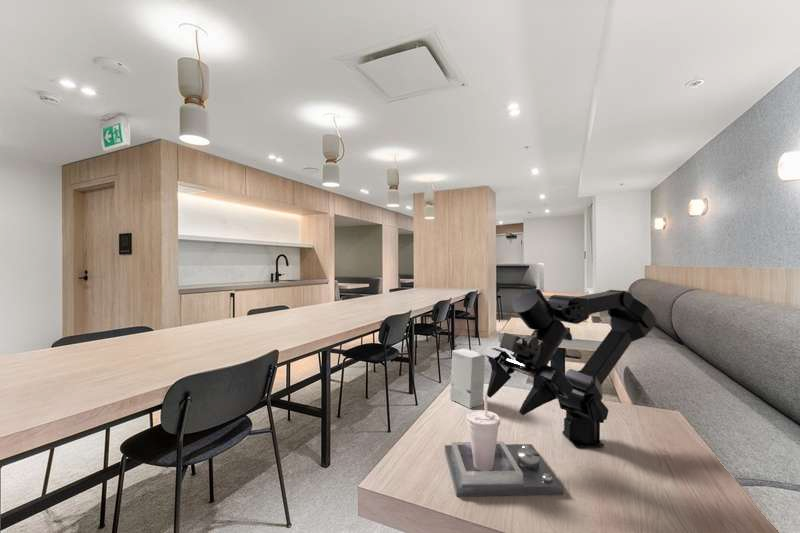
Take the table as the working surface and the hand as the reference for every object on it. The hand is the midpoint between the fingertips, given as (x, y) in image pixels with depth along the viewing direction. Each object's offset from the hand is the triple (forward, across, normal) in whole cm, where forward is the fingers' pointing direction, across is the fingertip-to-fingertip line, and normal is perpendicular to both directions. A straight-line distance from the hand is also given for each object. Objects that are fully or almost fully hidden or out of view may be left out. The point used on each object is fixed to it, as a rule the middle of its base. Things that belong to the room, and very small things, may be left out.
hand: (503, 404), depth 69 cm
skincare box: (0, -29, +18) cm, 34 cm away
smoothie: (+12, 0, +5) cm, 13 cm away
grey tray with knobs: (+10, 0, +8) cm, 13 cm away
